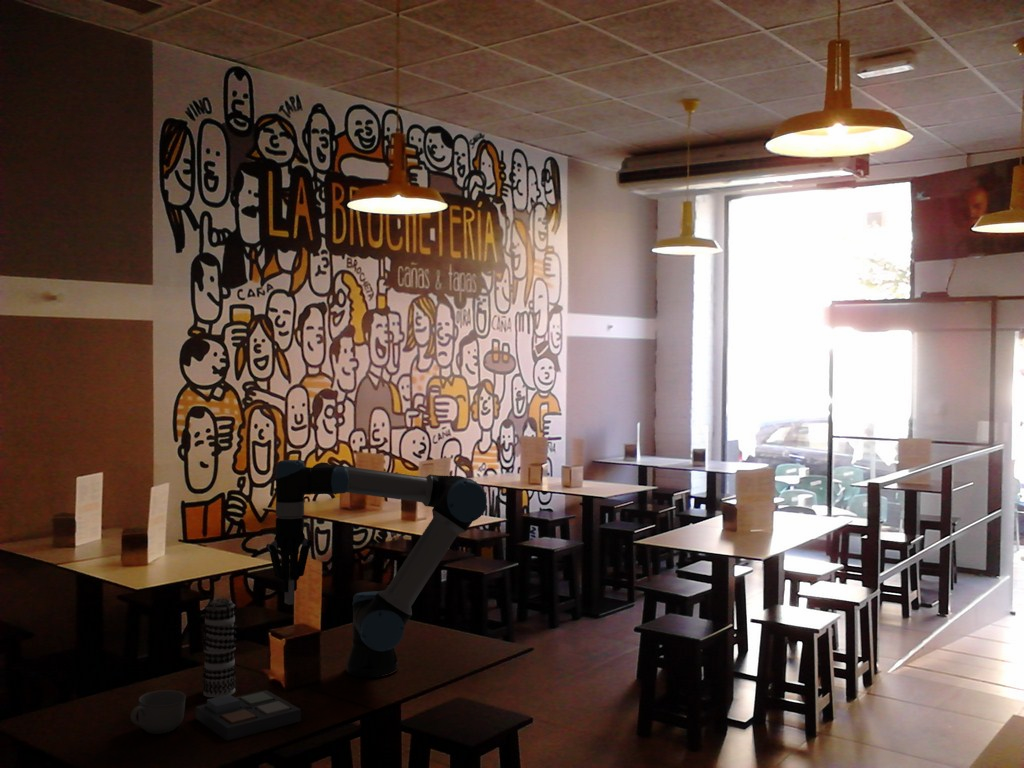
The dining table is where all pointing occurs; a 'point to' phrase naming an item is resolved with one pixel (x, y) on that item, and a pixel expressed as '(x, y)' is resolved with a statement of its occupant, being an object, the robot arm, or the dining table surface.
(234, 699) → the blue key
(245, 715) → the terracotta key
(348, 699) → the dining table surface
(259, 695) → the sage key
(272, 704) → the cream key
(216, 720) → the keypad frame
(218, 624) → the decorative candle
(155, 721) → the teacup
